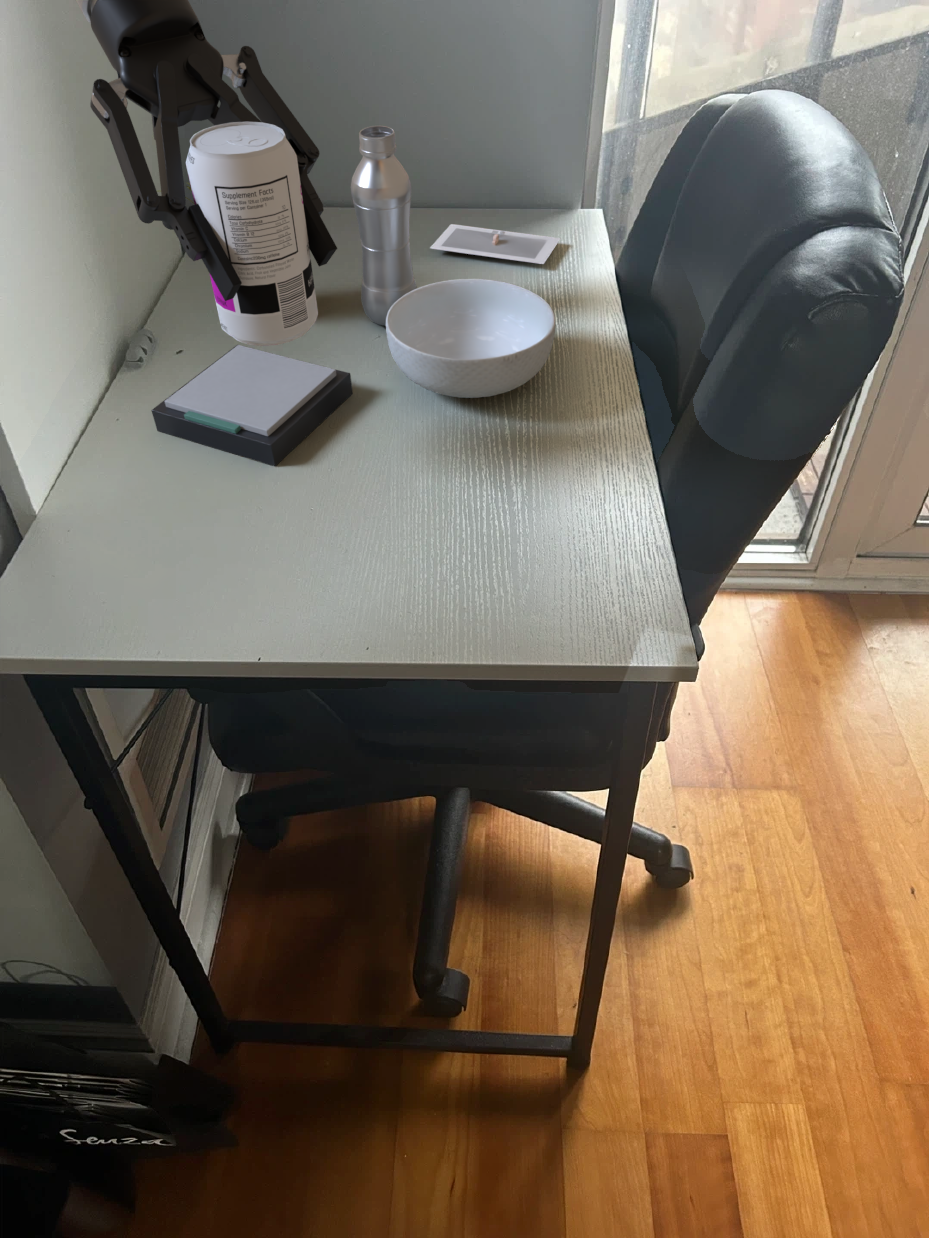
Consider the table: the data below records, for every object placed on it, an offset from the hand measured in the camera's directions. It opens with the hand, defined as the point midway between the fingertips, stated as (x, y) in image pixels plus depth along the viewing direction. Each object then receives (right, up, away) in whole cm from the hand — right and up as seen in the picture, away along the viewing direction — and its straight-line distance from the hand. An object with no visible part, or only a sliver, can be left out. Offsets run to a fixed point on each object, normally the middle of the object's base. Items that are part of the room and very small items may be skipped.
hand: (281, 274), depth 74 cm
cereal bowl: (+15, -2, +24) cm, 29 cm away
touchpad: (+18, +20, +46) cm, 54 cm away
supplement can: (-2, -2, +6) cm, 7 cm away
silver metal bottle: (+6, +7, +34) cm, 35 cm away
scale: (-6, -6, +20) cm, 22 cm away
